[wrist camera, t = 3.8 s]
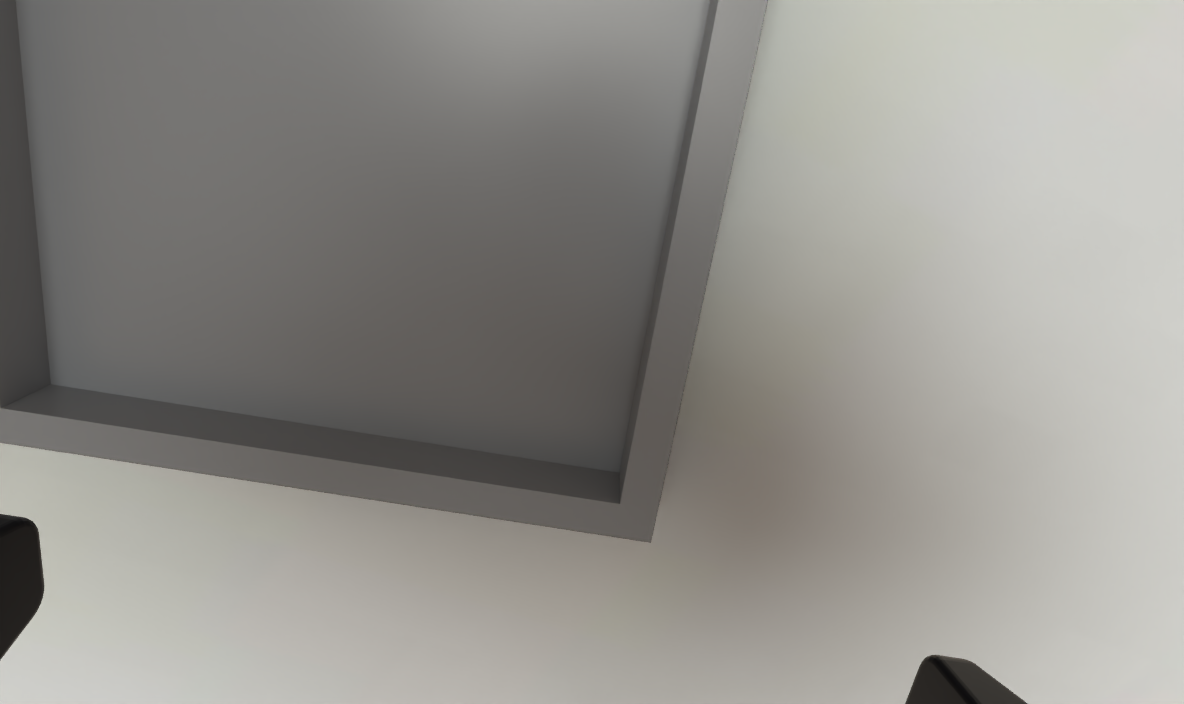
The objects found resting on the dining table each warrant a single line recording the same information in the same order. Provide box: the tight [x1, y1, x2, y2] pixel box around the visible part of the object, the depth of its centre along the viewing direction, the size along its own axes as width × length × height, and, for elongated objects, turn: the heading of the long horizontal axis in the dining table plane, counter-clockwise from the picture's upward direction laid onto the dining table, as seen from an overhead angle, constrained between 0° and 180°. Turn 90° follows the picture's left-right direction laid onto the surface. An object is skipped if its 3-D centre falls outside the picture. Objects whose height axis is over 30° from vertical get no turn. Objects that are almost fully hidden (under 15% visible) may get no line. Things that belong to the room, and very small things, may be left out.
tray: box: [0, 0, 768, 543], centre depth 17 cm, size 18×18×2 cm
